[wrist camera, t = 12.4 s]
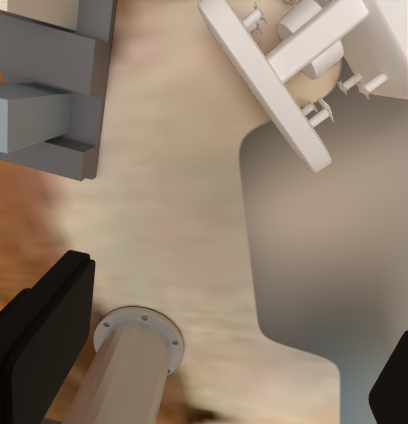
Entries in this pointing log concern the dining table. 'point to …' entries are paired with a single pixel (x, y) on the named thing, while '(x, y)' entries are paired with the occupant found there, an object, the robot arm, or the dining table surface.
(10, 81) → the grey blocky pieces
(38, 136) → the slate plug
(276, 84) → the cable organizer
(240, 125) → the dining table surface
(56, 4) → the cream plug
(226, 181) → the dining table surface
